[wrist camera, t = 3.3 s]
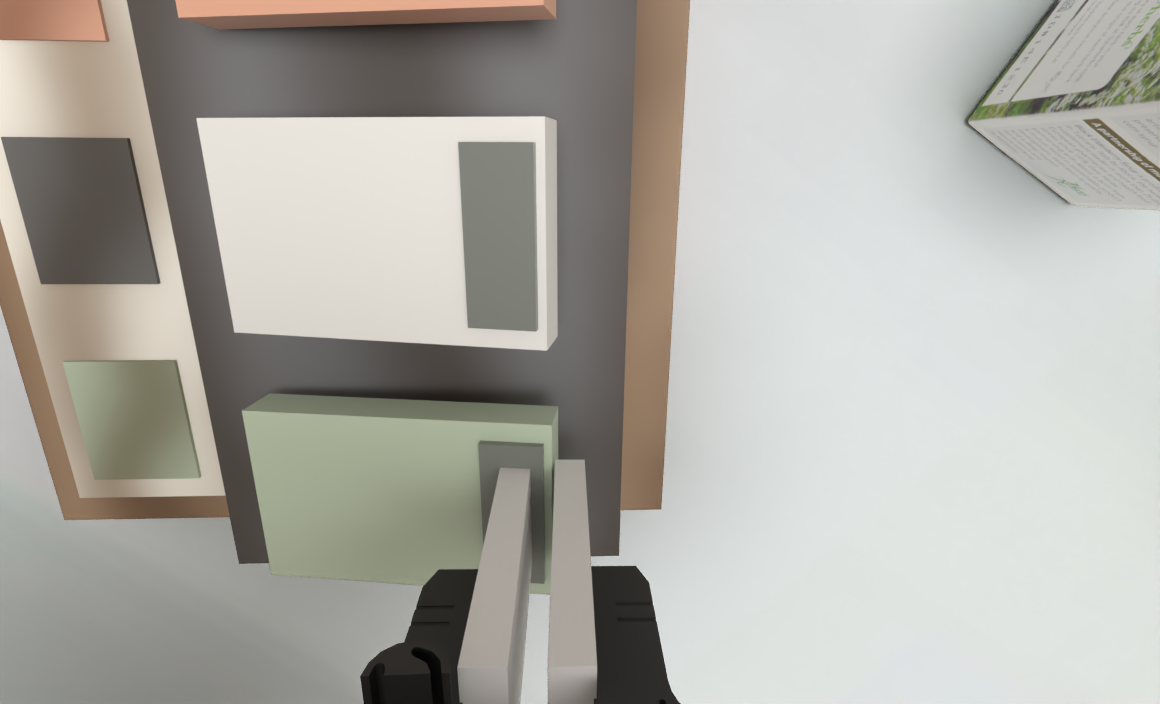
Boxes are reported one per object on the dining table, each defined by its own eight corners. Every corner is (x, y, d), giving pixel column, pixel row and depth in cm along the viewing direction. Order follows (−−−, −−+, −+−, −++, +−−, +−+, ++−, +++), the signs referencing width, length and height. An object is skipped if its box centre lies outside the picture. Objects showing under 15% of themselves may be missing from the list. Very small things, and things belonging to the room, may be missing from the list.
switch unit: (103, 491, 24) (-43, 598, 18) (-81, -190, 17) (-413, -374, 11) (652, 482, 25) (683, 581, 19) (685, -165, 18) (749, -322, 12)
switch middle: (266, 320, 16) (228, 334, 15) (234, 121, 14) (189, 117, 13) (557, 336, 15) (545, 353, 13) (556, 120, 13) (542, 115, 12)
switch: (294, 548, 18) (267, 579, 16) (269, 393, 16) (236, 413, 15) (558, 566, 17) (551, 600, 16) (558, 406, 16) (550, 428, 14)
